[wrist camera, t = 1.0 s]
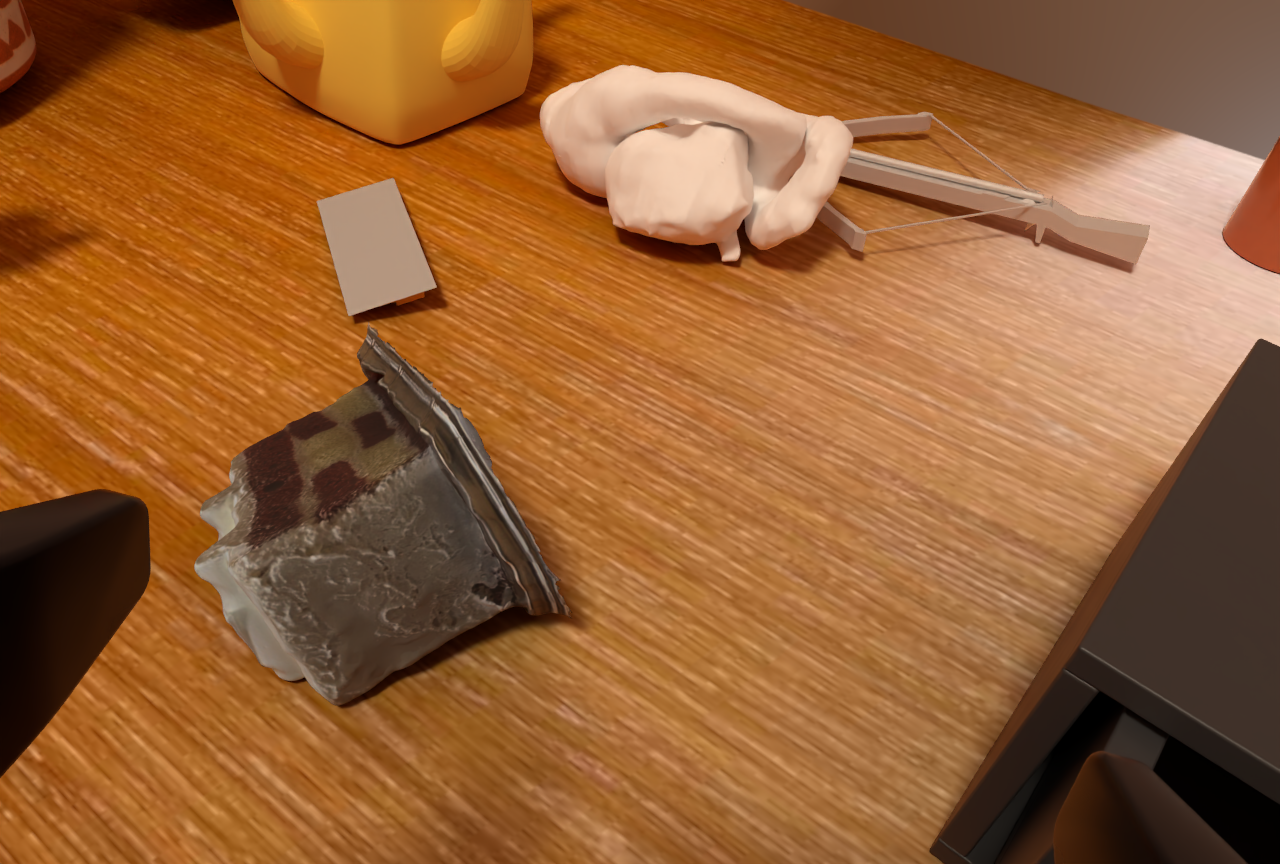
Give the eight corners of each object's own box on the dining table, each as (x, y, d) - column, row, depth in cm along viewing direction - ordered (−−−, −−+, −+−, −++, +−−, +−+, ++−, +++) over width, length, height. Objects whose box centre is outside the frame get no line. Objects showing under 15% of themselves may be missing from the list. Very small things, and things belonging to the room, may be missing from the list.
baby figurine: (549, 46, 42) (482, 199, 38) (798, -58, 35) (744, 119, 31) (660, 183, 48) (611, 327, 44) (895, 118, 40) (859, 284, 37)
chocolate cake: (163, 439, 30) (47, 445, 18) (370, 326, 32) (384, 266, 20) (332, 698, 31) (323, 854, 20) (522, 576, 33) (616, 654, 22)
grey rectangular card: (316, 201, 39) (323, 217, 40) (348, 316, 34) (355, 332, 34) (393, 177, 40) (398, 193, 40) (437, 287, 34) (442, 304, 35)
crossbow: (730, 233, 42) (735, 189, 41) (816, 119, 51) (823, 80, 49) (1123, 341, 38) (1145, 296, 36) (1145, 195, 46) (1162, 155, 45)
